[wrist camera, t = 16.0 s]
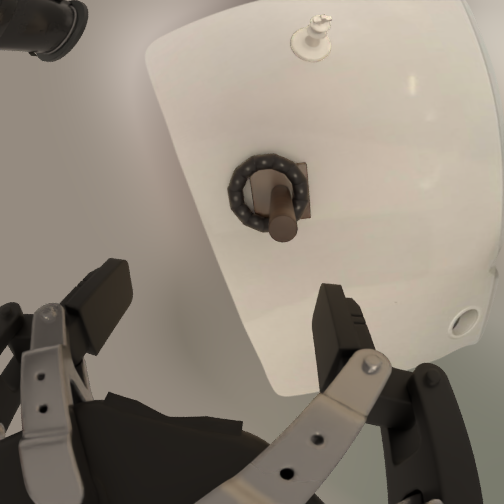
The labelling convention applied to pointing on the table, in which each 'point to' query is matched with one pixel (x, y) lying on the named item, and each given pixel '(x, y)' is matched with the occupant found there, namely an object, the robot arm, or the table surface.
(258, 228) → the ring
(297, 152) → the table surface
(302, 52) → the chess piece
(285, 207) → the peg stand
